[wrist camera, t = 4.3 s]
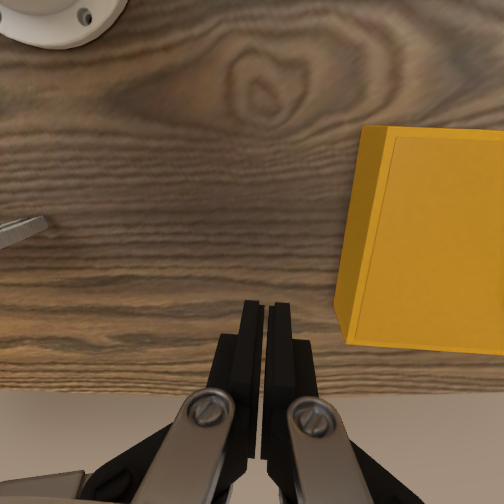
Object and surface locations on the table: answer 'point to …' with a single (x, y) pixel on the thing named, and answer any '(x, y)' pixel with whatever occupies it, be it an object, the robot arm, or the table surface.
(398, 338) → the case
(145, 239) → the table surface
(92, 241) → the table surface
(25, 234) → the caliper
